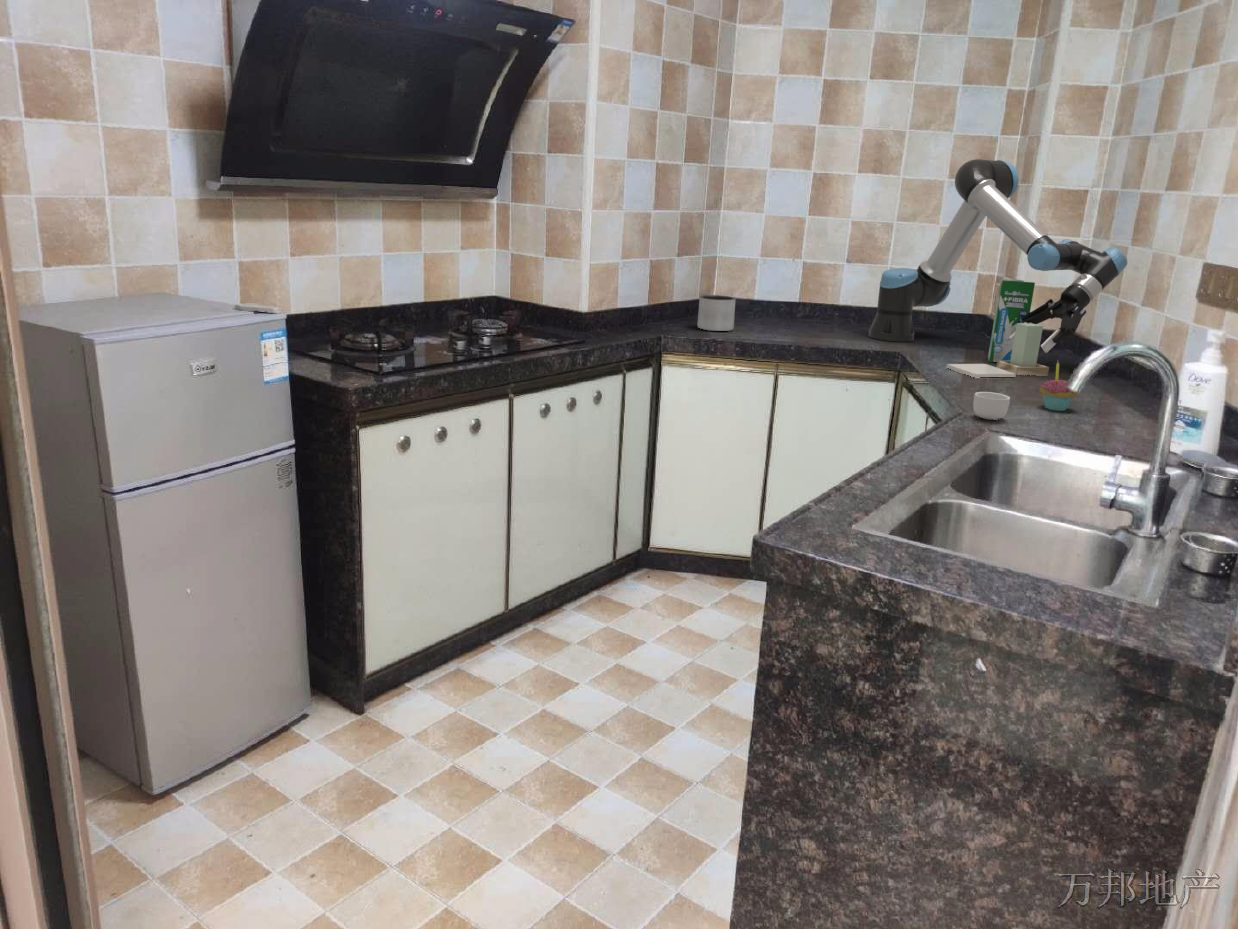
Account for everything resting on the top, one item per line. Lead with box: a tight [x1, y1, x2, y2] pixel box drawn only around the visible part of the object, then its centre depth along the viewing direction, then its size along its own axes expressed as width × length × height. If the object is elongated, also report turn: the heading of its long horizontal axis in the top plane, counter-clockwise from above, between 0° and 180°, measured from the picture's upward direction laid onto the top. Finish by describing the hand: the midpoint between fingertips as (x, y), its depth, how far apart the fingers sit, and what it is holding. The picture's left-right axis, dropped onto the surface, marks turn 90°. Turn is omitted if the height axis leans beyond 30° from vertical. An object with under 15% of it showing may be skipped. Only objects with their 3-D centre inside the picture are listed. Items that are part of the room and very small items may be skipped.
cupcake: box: [1039, 360, 1078, 412], centre depth 226 cm, size 9×8×12 cm
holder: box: [995, 361, 1050, 377], centre depth 270 cm, size 10×10×2 cm
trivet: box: [946, 363, 1017, 379], centre depth 267 cm, size 14×13×1 cm
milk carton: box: [987, 279, 1036, 363], centre depth 283 cm, size 9×9×25 cm
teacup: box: [972, 391, 1011, 419], centre depth 215 cm, size 10×8×5 cm
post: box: [1010, 323, 1044, 367], centre depth 269 cm, size 5×5×14 cm
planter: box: [696, 294, 736, 332], centre depth 320 cm, size 12×12×11 cm
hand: (1027, 345), depth 268 cm, fingers open, 13 cm apart
